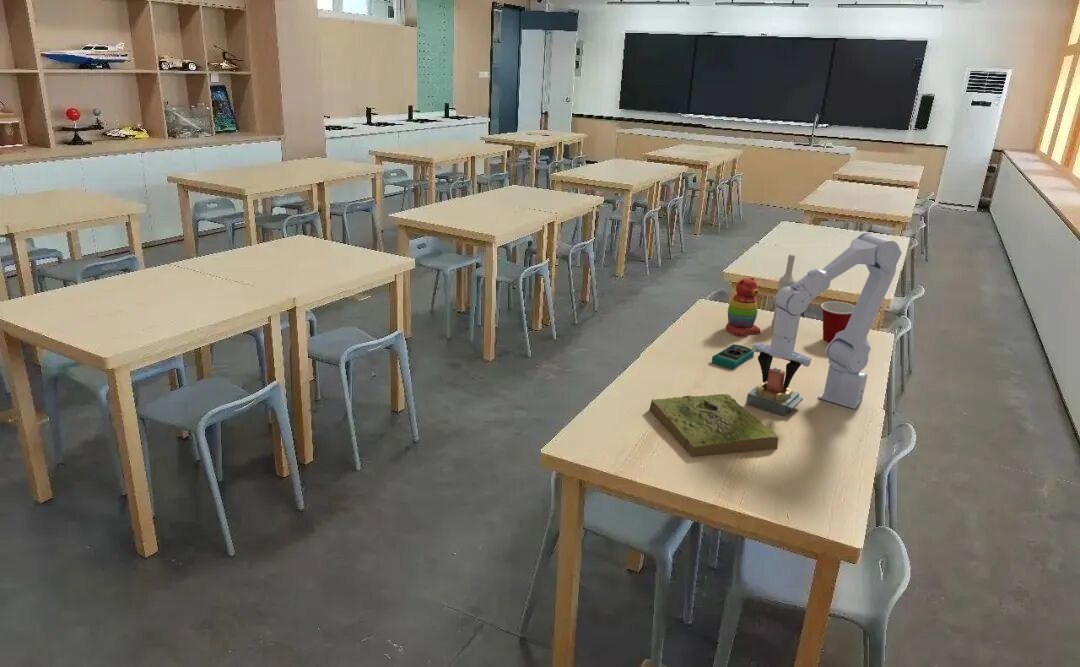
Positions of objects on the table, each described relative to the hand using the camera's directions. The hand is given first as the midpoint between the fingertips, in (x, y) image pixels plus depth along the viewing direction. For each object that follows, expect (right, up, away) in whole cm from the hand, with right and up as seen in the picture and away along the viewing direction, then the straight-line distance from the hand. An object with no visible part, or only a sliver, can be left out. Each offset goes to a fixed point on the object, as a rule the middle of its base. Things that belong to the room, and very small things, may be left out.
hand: (775, 384), depth 187 cm
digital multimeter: (-3, +5, +30) cm, 30 cm away
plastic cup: (+34, +10, +50) cm, 61 cm away
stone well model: (0, -5, +2) cm, 6 cm away
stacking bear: (+6, +14, +54) cm, 56 cm away
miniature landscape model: (-20, -10, -13) cm, 26 cm away
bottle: (+21, +15, +60) cm, 66 cm away
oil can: (0, -2, +1) cm, 3 cm away
